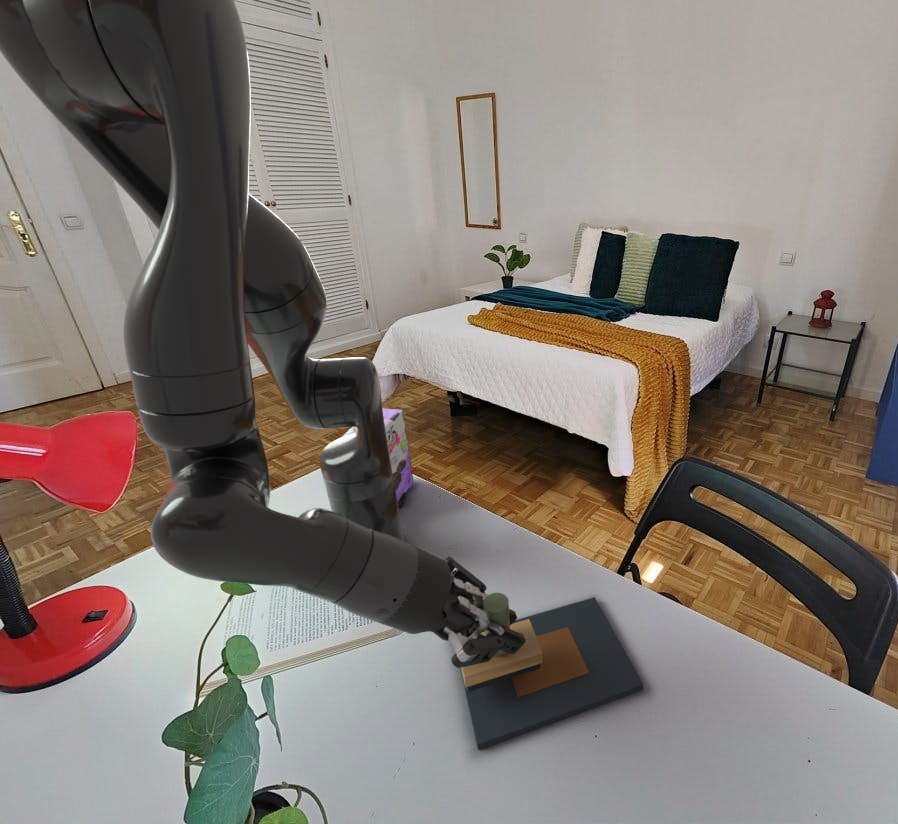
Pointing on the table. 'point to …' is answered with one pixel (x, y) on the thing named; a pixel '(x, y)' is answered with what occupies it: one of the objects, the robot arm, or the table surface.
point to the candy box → (397, 450)
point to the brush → (502, 661)
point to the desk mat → (556, 675)
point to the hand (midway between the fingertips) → (515, 632)
